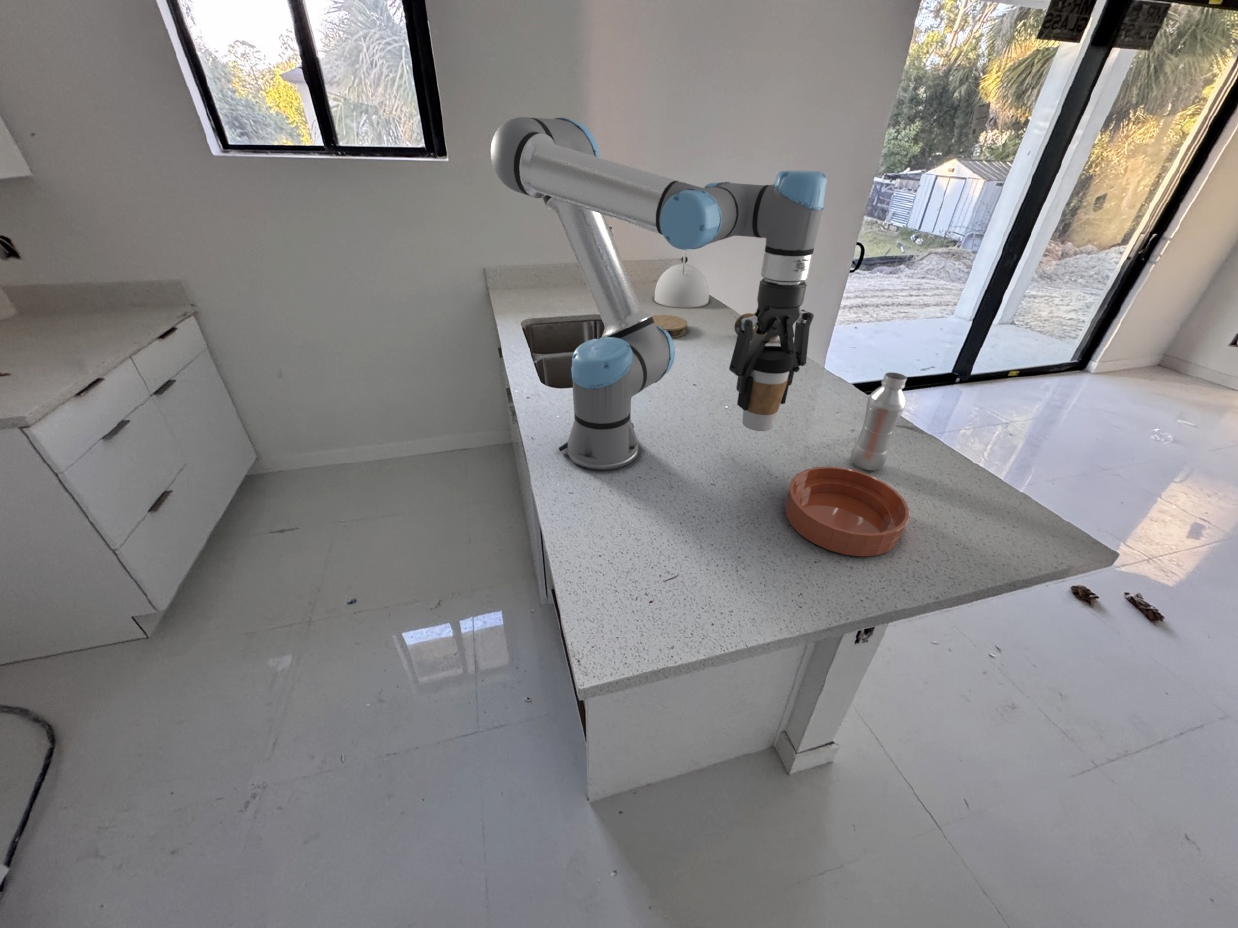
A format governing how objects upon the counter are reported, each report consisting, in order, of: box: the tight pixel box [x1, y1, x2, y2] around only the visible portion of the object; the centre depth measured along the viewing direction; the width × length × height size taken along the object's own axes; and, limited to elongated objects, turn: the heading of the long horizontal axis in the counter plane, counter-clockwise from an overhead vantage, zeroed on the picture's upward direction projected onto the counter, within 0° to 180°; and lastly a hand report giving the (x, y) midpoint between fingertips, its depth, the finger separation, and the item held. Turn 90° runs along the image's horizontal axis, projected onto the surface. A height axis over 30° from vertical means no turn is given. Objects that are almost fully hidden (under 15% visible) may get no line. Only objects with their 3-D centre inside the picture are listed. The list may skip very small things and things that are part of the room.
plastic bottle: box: [850, 371, 908, 471], centre depth 96 cm, size 6×7×20 cm
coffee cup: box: [741, 345, 794, 432], centre depth 91 cm, size 8×8×15 cm
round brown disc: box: [652, 314, 688, 339], centre depth 171 cm, size 16×16×3 cm
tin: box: [734, 312, 779, 343], centre depth 162 cm, size 15×3×8 cm, turn 68°
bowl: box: [784, 466, 910, 557], centre depth 85 cm, size 19×19×5 cm
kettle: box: [653, 250, 710, 309], centre depth 199 cm, size 25×23×23 cm
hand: (761, 403), depth 93 cm, fingers closed on coffee cup, 7 cm apart
